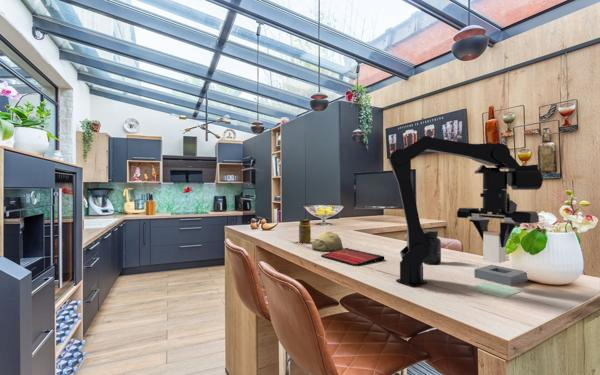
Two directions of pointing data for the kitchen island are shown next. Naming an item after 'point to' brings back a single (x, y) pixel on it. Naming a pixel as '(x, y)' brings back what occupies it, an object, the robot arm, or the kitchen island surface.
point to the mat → (494, 289)
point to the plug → (493, 247)
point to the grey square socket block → (501, 275)
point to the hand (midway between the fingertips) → (494, 245)
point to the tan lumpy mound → (327, 242)
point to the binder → (353, 257)
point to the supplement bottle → (434, 249)
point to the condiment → (304, 232)
